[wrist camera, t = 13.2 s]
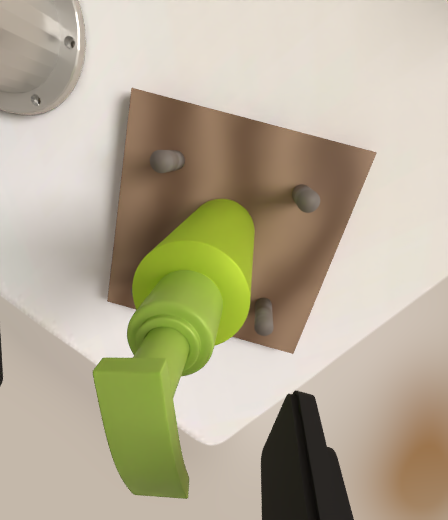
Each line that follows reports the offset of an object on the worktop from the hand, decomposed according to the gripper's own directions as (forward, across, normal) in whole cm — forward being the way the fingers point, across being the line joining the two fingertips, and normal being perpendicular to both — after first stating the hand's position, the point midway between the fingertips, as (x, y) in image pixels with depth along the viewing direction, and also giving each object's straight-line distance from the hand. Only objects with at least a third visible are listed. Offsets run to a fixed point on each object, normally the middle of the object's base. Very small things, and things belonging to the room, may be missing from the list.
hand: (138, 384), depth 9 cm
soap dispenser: (+19, -1, 0) cm, 19 cm away
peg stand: (+20, -1, 0) cm, 20 cm away
